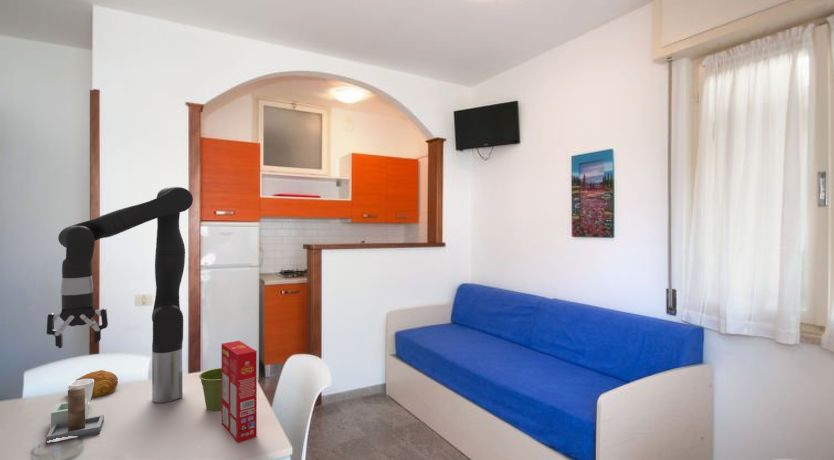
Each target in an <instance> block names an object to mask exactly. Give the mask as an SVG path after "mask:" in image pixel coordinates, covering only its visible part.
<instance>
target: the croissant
mask: <svg viewBox="0 0 834 460" xmlns="http://www.w3.org/2000/svg"><path fill="white" fill-rule="evenodd" d="M82 379H93V380H94V386H93V392H92V396H91V398H95V397H99V396H104V395H109V394H111V393H112V392H114V391H115V390H116V388H117V386H118V385H119V379H118V376H117V375H116V374H114V373H113V372H111V371H106V370H103V369H100V370H96V371H92V372H89V373H87V374H84V375H82V376H81V377H79V378H76V379H75V380H74V381H77V380H82ZM68 389H69V386H68Z"/></svg>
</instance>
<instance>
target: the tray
mask: <svg viewBox="0 0 834 460" xmlns="http://www.w3.org/2000/svg"><path fill="white" fill-rule="evenodd" d="M104 423H105V415H104V414H101V415H96V416H89V417H87V418H85V429H80V430H74V431H69V432H68V421H67V422H62V423H56V424H54V425H53V426H52V428H51V427H50V430H49V432H48V433H47V434H46V437H45V442H46V441H49V440H53V439H56V438H62V437H68V436H78V437H80V438H83V437H84V438H85V437H89V436H94V435H99V434H101V431H102V428H103V424H104Z"/></svg>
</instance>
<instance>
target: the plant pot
mask: <svg viewBox="0 0 834 460" xmlns="http://www.w3.org/2000/svg"><path fill="white" fill-rule="evenodd" d="M198 378H199V380H200V382H201V385H202V390H203V396H204V402H205V408H206V409H207V410H210V411H220V410H221V411H222V367H217V368H211V369H208V370H205V371H203V372H201V373H200V374H199V375H198Z"/></svg>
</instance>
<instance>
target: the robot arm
mask: <svg viewBox="0 0 834 460" xmlns="http://www.w3.org/2000/svg"><path fill="white" fill-rule="evenodd" d="M193 202H194V198H193V194H192V193H191V192H190V190H188V189H187V188H185V187H182V186H168V187H164V188H162V189H160V190H159V192H157V195H156V198H153V199H151V200H149V201H145V202H142V203H137V204H135V205H130V206H127V207H123V208H120V209H116V210H114V211H112V212H111V211H110V212H108V213H106V214H103V215H100V216H98V217H96V218H94V219H90V220H86V221H82V222H79V223H76V224H73V225H70V226H67V227H65V228H63V229H62V230H61V231H60V232H59V233H58V237H57V238H58V242H59V244H60V245H61V246H62V247H64V248H65V258H64V259H63V261H62V264H61V278H62V279H61V286H60V287H61V288H60V293H61V295H60V296H61V311H60V313H59V312H57V313H54V312H51V313H49V314H48V315H47V319H46V320H47V321H46V334H47V335H50V336H54V338H55V339H54V340H55V341H54V342H55V343H54V344H55V347H57V348H58V349H61V348H62V349H63V345H64V342H63V340H64V339H63V336H64V335H63V334H62V333H63V332H64V330H65V329H66V328H67V327H68V326H69V327H76V326H85V325H88V326H89V327H90V328H92V329H93V330H94V334H93V335H94V344H98V343H99V342H100V341H101V339H102V334H101V333H102V330H104V329H106V328H108V326H109V324H108V323H109V322H108V320H109V319H108V312H107V308H105V307H103V308H100V309H95V306H94V305H95V304H94V281H93V268H92V267H93V265H92V260H93V256H94V250H95V245H96V241H98V240H100V239H106V238H110V237H114V236H116V235H119V234H121V233H124V232H127V231H128V230H131V229H133V228H136V227H137V226H141V225H143V224H145V223H147V222H151V221H152V220H155V219H156V222H157V223H156V224H157V225H156V226H157V229H156V243H155V254H154V255H155V257H154V277H155V299H154V302H153V303H154V304H153V309H152V312H151V320H152V345H151V351H152V352H151V357H152V358H151V359H152V360H151V372H152V373H151V374H152V375H151V377H152V378H151V380H152V381H151V390H152V391H151V400H152V402H154V403H158V404H159V403H168V402H173V401H176V400H178V399H182V398H183V343H184V315H183V311H182V310H181V307H180V306H181V305H180V286H181V283H182V279H183V276H184V271H185V263H186V247H185V242H184V239H183V235H182V234H181V230H180V215H181V213H182V212H186V211H187V210H189V209H190V207H191V206H192V205H193ZM96 314H97V315H98V317H101V319H100V320H101V324H100V325H99V324H98V323H97V322H96V320H95V319H94V318H93V317H95V315H96ZM58 318H60V319H61V320H62V321H63V323H62V324H61V325H60V327H59V328H58V329H55V321H57V320H58Z"/></svg>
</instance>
